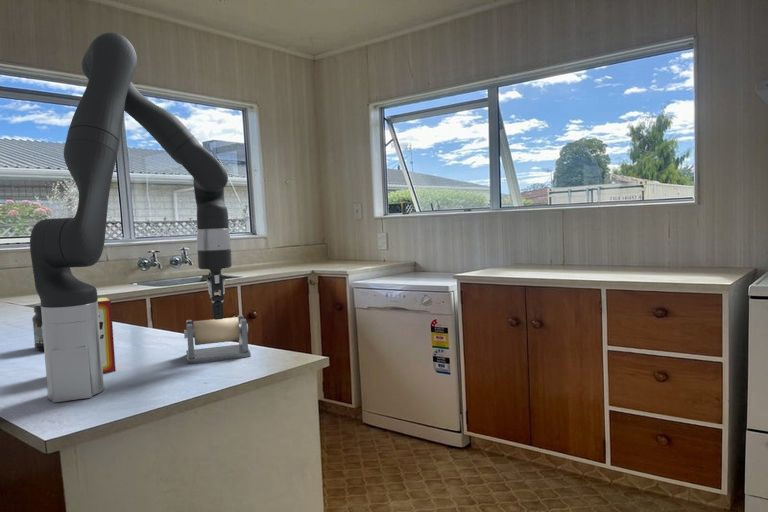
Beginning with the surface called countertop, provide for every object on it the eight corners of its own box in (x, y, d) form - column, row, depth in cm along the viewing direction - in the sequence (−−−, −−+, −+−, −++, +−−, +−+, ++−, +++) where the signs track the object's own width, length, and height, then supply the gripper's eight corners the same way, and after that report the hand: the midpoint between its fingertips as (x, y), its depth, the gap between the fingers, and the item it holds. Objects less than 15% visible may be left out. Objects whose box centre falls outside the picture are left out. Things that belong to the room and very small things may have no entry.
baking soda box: (112, 365, 123) (107, 295, 122) (115, 371, 117) (110, 298, 116) (64, 372, 118) (59, 300, 117) (65, 379, 112) (59, 303, 111)
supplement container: (73, 341, 151) (70, 299, 151) (85, 346, 144) (82, 301, 143) (30, 348, 144) (26, 304, 143) (40, 354, 137) (37, 307, 136)
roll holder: (250, 356, 126) (248, 320, 125) (187, 364, 121) (185, 326, 120) (245, 347, 135) (243, 314, 135) (186, 354, 130) (184, 319, 130)
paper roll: (246, 332, 133) (245, 312, 132) (249, 343, 128) (248, 322, 127) (184, 339, 128) (183, 318, 126) (185, 350, 123) (183, 328, 121)
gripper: (232, 248, 121) (236, 319, 121) (228, 247, 134) (232, 311, 135) (197, 249, 118) (201, 322, 119) (197, 248, 132) (200, 314, 132)
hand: (217, 316), depth 127 cm, fingers open, 8 cm apart
